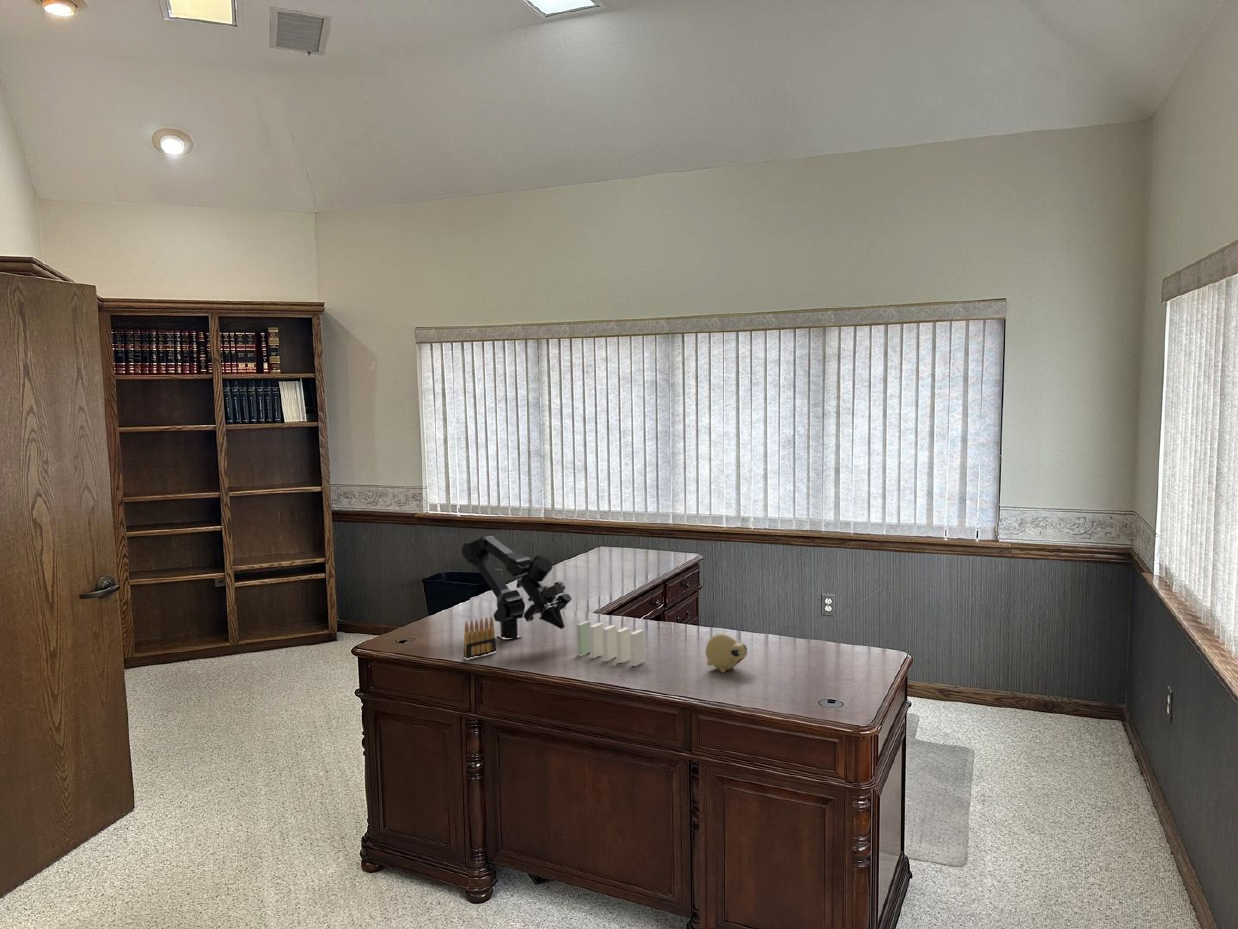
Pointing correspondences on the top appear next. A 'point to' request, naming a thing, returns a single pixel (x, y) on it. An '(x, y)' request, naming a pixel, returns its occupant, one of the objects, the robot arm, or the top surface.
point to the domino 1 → (583, 637)
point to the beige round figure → (724, 652)
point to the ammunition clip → (479, 639)
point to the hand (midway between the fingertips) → (563, 628)
